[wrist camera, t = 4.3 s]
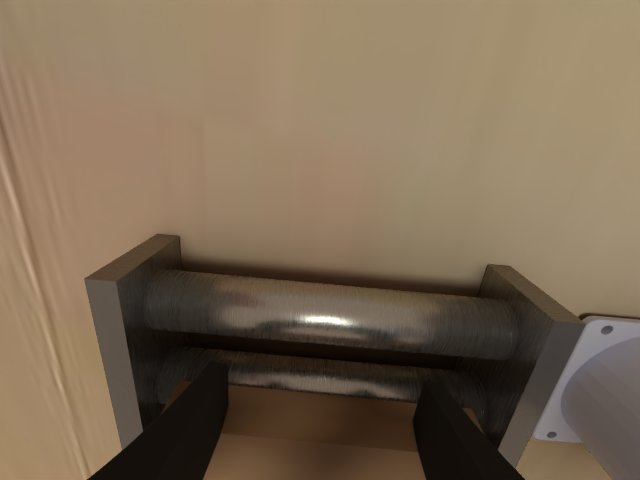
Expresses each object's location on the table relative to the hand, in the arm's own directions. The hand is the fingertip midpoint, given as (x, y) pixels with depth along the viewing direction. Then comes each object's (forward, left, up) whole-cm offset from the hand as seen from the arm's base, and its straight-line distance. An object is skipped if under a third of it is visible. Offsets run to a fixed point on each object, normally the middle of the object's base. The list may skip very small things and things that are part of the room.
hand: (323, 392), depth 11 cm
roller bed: (0, +8, -4) cm, 9 cm away
